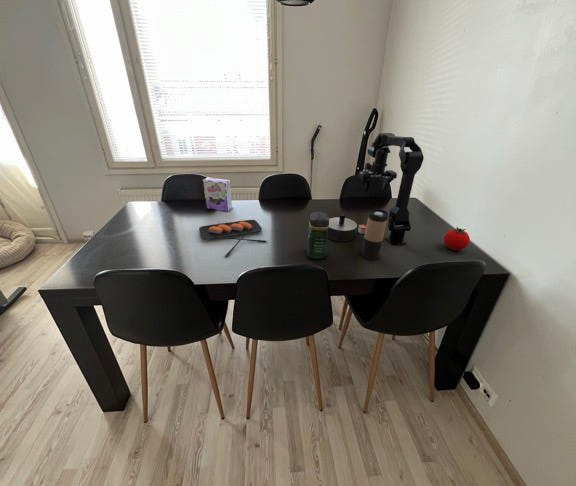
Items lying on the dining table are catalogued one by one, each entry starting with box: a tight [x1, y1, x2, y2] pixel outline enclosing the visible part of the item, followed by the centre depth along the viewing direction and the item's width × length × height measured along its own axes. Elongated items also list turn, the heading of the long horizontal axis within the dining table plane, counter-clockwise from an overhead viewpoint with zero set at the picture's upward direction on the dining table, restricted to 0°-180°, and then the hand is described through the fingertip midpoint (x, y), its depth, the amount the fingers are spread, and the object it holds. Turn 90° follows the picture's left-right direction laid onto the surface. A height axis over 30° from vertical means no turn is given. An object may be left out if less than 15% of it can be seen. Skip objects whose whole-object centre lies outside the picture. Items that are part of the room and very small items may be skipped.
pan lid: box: [329, 213, 358, 231], centre depth 139 cm, size 15×15×6 cm
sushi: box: [357, 223, 367, 235], centre depth 146 cm, size 7×4×3 cm, turn 102°
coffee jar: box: [306, 211, 330, 260], centre depth 122 cm, size 10×8×19 cm
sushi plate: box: [198, 219, 267, 258], centre depth 136 cm, size 29×30×4 cm
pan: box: [327, 228, 356, 242], centre depth 142 cm, size 14×14×6 cm
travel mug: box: [361, 208, 389, 260], centre depth 122 cm, size 8×8×20 cm
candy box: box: [202, 176, 233, 212], centre depth 163 cm, size 14×6×16 cm, turn 73°
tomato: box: [443, 226, 471, 251], centre depth 132 cm, size 10×10×10 cm
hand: (374, 191), depth 154 cm, fingers open, 9 cm apart
